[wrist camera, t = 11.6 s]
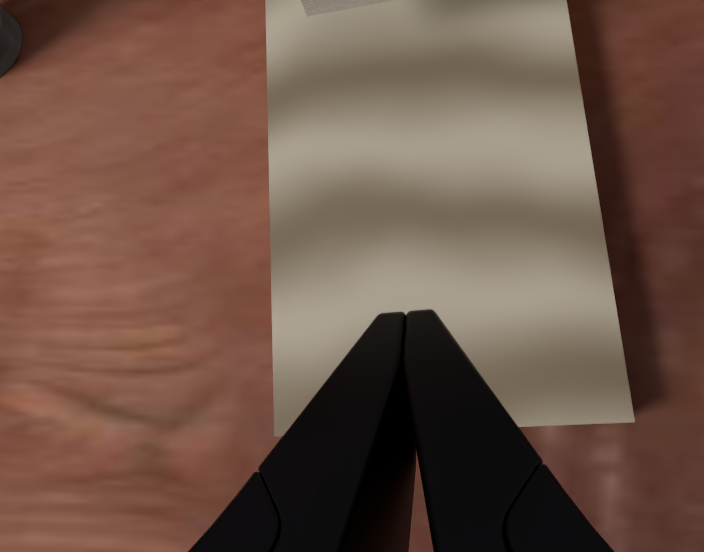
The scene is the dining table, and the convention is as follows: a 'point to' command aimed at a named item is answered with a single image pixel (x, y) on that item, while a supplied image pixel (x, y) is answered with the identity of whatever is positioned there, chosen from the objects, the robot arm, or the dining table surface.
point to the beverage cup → (8, 41)
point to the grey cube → (334, 5)
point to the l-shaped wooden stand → (440, 199)
